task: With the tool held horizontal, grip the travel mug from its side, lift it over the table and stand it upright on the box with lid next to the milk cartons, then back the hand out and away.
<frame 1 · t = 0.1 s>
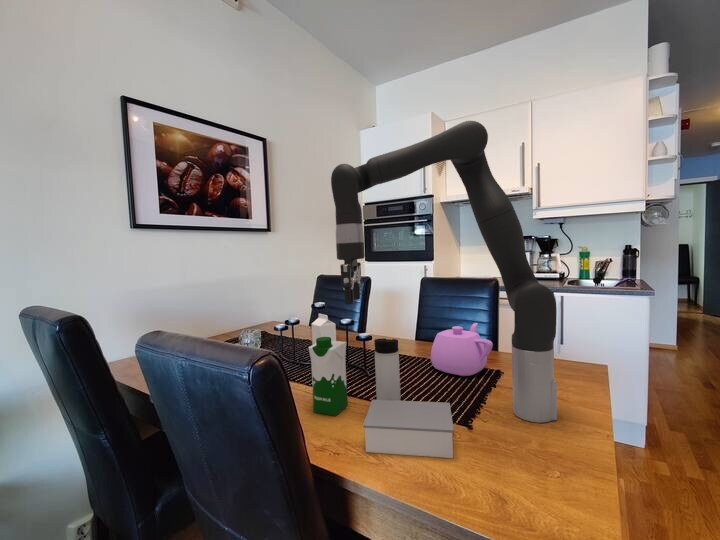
hand: (353, 301, 93), 29 cm above the table, tool pointing down, fingers open, 8 cm apart
milk: (326, 378, 118), on the table
box with lid: (409, 439, 77), on the table
teapot: (459, 369, 121), on the table
milk carton: (331, 409, 94), on the table
travel mug: (388, 413, 90), on the table
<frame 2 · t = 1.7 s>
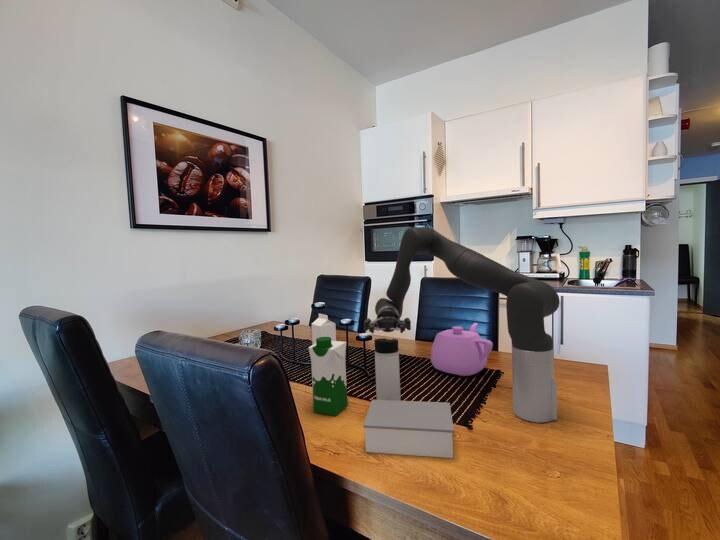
hand: (386, 329, 100), 20 cm above the table, tool horizontal, fingers open, 8 cm apart
nothing on the table moved.
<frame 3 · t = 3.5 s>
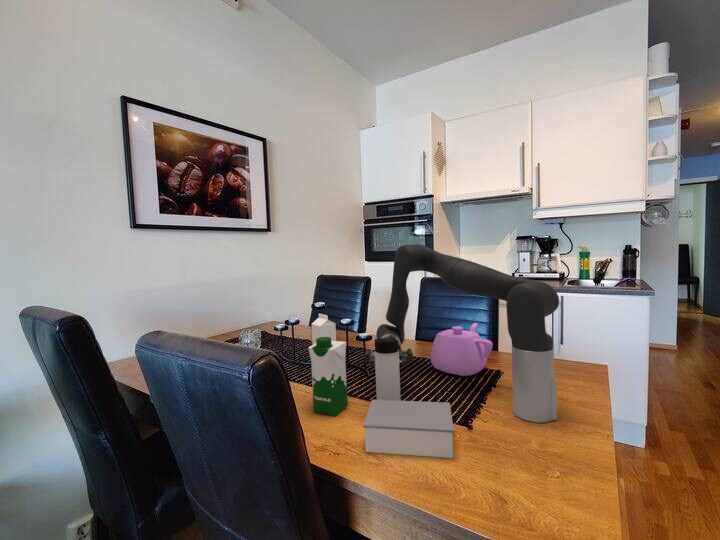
hand: (388, 363, 96), 11 cm above the table, tool horizontal, fingers open, 8 cm apart
nothing on the table moved.
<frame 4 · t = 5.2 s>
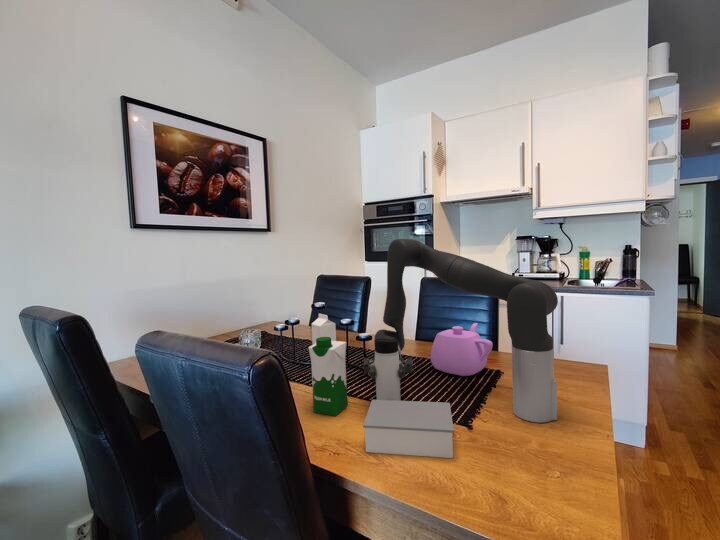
hand: (387, 375, 87), 11 cm above the table, tool horizontal, fingers closed on travel mug, 6 cm apart
travel mug: (388, 413, 90), on the table, touching gripper
everything else where it was.
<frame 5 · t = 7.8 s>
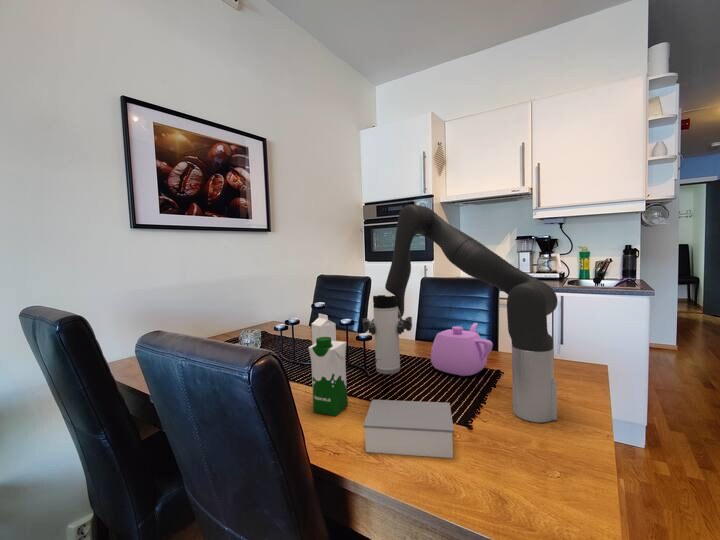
hand: (386, 330, 86), 23 cm above the table, tool horizontal, fingers closed on travel mug, 6 cm apart
travel mug: (388, 371, 89), point 11 cm above the table, touching gripper
everything else where it was.
when the fingers open (18 cm above the table, at t = 10.3 s): travel mug drops 1 cm, resting on box with lid.
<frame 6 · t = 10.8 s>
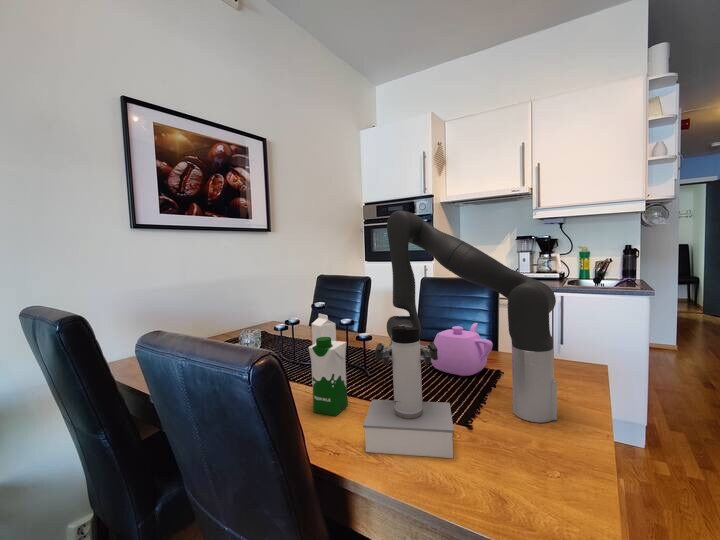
hand: (407, 361, 75), 19 cm above the table, tool horizontal, fingers open, 8 cm apart
travel mug: (408, 413, 77), point 6 cm above the table, touching box with lid
everything else where it was.
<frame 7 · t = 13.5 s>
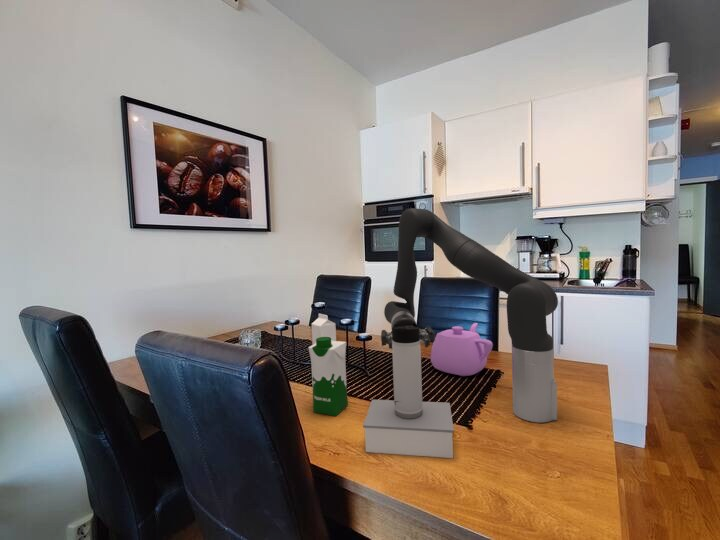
hand: (409, 345, 87), 18 cm above the table, tool horizontal, fingers open, 8 cm apart
nothing on the table moved.
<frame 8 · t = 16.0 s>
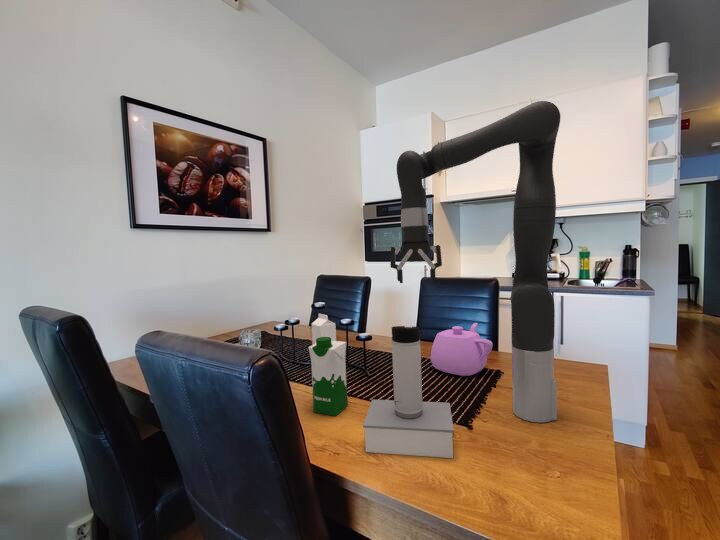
hand: (416, 282, 98), 33 cm above the table, tool pointing down, fingers open, 8 cm apart
nothing on the table moved.
at the end: travel mug inside the target area on the box with lid (0.2 cm from its centre), point 5.8 cm above the box with lid's base; travel mug tilted 0°; the gripper is holding nothing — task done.
